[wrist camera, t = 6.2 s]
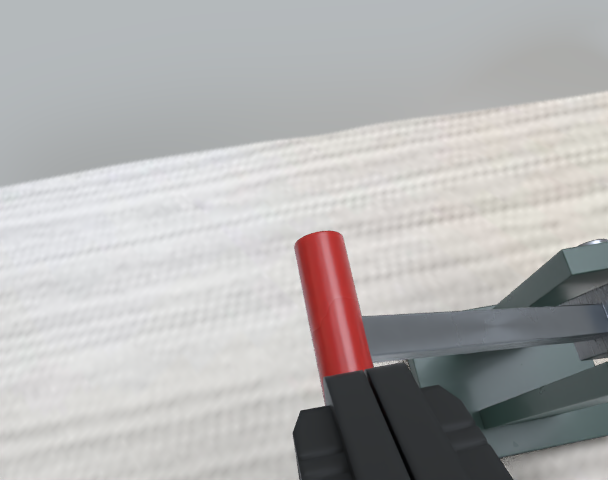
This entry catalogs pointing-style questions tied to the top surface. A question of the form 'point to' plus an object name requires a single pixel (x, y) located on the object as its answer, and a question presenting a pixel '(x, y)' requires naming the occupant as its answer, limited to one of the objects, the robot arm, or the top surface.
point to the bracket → (533, 368)
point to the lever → (428, 320)
